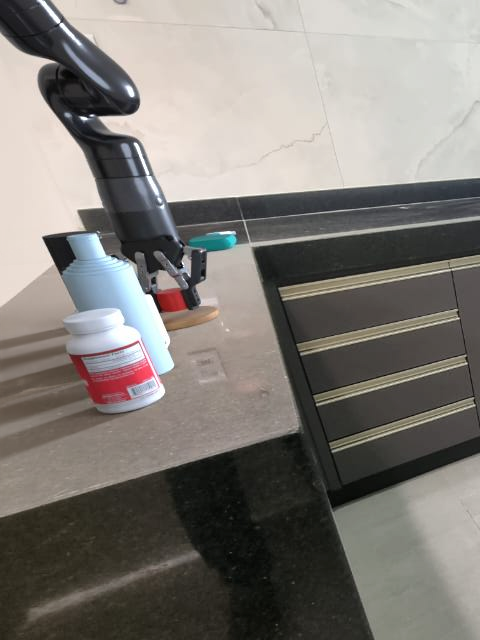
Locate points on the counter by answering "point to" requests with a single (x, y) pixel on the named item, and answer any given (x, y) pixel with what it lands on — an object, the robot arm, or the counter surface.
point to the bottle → (113, 293)
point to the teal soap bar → (214, 241)
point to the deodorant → (61, 249)
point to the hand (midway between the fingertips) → (178, 309)
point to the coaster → (188, 317)
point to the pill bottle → (112, 361)
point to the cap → (171, 300)
